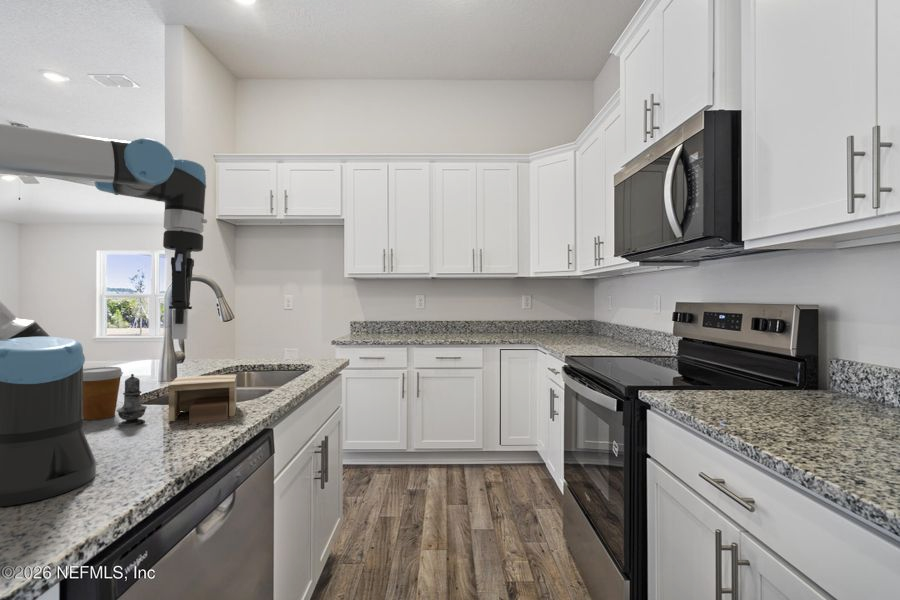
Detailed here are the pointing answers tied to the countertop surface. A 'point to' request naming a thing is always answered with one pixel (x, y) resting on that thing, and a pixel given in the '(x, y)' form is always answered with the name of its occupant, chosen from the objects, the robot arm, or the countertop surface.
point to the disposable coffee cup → (100, 392)
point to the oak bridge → (200, 392)
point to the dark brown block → (209, 410)
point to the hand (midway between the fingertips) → (179, 338)
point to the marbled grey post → (131, 404)
